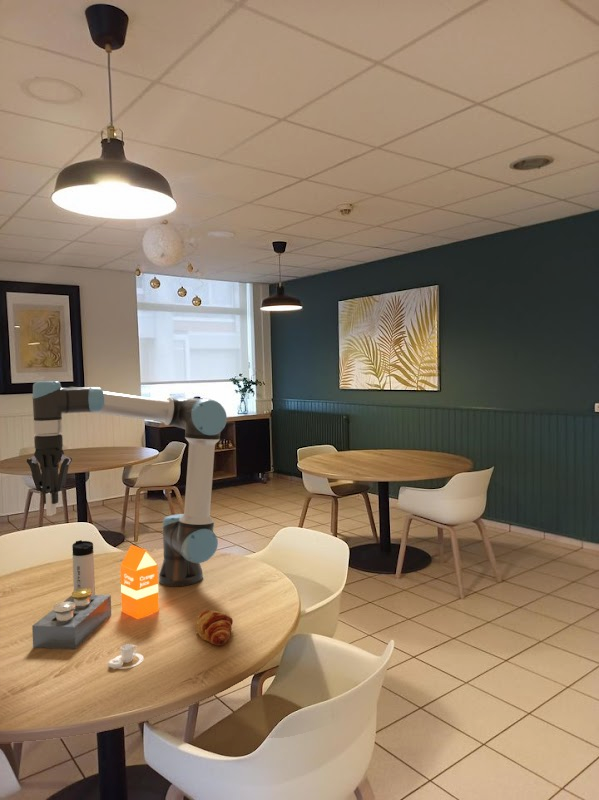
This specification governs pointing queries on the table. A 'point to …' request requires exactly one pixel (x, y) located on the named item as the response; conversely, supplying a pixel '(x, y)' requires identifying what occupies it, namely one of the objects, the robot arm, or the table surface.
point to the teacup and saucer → (125, 657)
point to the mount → (71, 624)
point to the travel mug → (83, 565)
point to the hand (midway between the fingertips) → (51, 514)
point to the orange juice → (139, 583)
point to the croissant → (214, 626)
